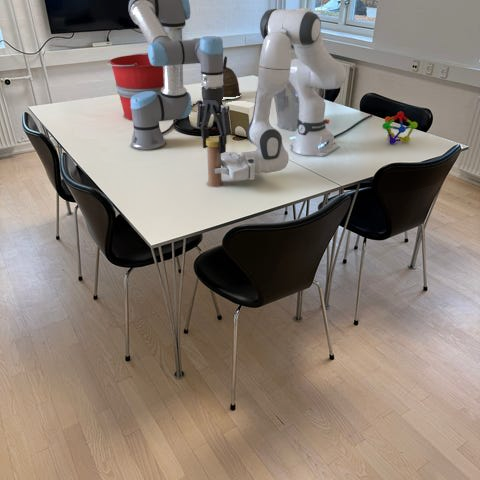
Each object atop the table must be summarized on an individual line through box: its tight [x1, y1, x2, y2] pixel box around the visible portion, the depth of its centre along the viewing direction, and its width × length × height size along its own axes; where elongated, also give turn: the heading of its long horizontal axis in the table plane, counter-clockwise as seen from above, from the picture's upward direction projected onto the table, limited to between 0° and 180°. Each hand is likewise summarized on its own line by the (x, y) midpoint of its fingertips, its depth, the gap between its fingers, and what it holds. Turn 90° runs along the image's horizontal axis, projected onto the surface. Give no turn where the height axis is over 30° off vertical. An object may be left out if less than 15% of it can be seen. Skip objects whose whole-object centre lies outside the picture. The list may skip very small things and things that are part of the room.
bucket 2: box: [273, 81, 326, 131], centre depth 226 cm, size 30×30×28 cm
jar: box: [206, 146, 223, 187], centre depth 166 cm, size 5×5×17 cm
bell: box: [222, 56, 242, 97], centre depth 278 cm, size 19×26×20 cm
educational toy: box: [382, 110, 418, 145], centre depth 207 cm, size 16×13×15 cm
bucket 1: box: [106, 52, 164, 121], centre depth 240 cm, size 35×35×30 cm
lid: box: [206, 136, 219, 147], centre depth 162 cm, size 6×6×2 cm
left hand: (214, 149), depth 164 cm, fingers open, 8 cm apart
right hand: (212, 167), depth 167 cm, fingers closed on jar, 5 cm apart
